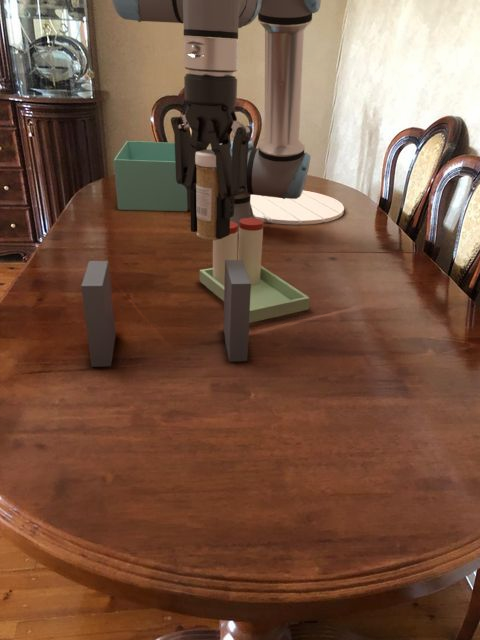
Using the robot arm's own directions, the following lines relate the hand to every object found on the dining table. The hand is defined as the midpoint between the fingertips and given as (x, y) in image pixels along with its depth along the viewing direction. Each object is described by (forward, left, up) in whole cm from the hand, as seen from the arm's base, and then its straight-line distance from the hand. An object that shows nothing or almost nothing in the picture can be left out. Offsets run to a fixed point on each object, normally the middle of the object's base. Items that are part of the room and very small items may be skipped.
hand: (210, 232), depth 86 cm
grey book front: (-1, -19, -18) cm, 26 cm away
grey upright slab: (+7, +1, -18) cm, 20 cm away
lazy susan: (-66, +59, -19) cm, 91 cm away
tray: (-9, +14, -18) cm, 25 cm away
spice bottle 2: (-16, +17, -18) cm, 29 cm away
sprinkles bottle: (0, 0, -1) cm, 1 cm away
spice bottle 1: (-16, +11, -18) cm, 26 cm away
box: (-90, +25, -19) cm, 96 cm away
